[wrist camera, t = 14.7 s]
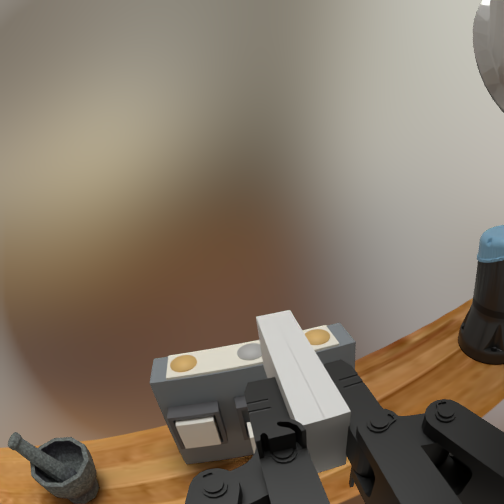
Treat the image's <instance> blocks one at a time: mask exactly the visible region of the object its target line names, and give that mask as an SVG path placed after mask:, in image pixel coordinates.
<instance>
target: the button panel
mask: <svg viewBox="0 0 504 504" xmlns="http://www.w3.org/2000/svg"><path fill="white" fill-rule="evenodd" d="M303 333H304V334H305V336H306V338H307V339H308V341H309V343H310V344H311V346H312V347H313V349H314V351H315V352H316V354H317V356H318V357H319V359H320V361H321V362H322V364H325V363H329V362H333V361H336V360H340V359H341V360H343V361H345V362H346V363H348V364H350V365H351V366H352V367H353V368H354V370H355V344H356V342H355V341H354V339H353V338H352V337H351V336H350V335H349V334H348V332H347V331H346V330H345V329H344V328H343V326H342V325H341V324H340V323H336V324H332V325H328V326H326V325H324V326H319V327H315V328H311V329H307V330H303ZM262 379H267V375H266V372H265V369H264V366H263V359H262V353H261V346H260V340H257V341H251V342H246V343H241V344H236V345H230V346H225V347H220V348H214V349H208V350H202V351H196V352H190V353H183V354H177V355H170V356H168V357H164V358H157V359H154V361H153V367H152V373H151V379H150V385H151V388H152V390H153V393H154V395H155V397H156V400H157V402H158V405H159V407H160V409H161V412H162V414H163V416H164V419H165V421H166V423H167V425H168V427H169V430H170V432H171V434H172V436H173V438H174V440H175V443H176V445H177V447H178V449H179V451H180V453H181V455H182V457H183V459H184V461H185V463H186V464H193V463H202V462H210V461H217V460H224V459H230V458H236V457H242V456H247V455H253V454H254V452H253V448H252V444H251V440H250V436H249V431H248V427H247V422H250V418H249V414H248V409H247V404H246V400H245V395H244V391H245V389H246V386H247V383H248V382H253V381H257V380H262ZM213 415H215V418H216V421H217V424H218V427H219V431H220V439H221V444H218V445H211V446H204V447H196V448H188V449H186V448H185V446H184V444H183V442H182V439H181V437H180V435H179V433H178V430H177V428H176V420H185V419H192V418H200V417H207V416H213Z"/></svg>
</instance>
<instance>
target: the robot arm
mask: <svg viewBox="0 0 504 504" xmlns="http://www.w3.org/2000/svg"><path fill="white" fill-rule="evenodd" d="M473 47H474V53H475V58H476V62H477V66H478V69H479V73H480V75H481V77H482V80H483V82H484V85H485V87H486V88H487V90H488V92H489V94H490V95H491V97H492V99H493V100H494V101H495V103H496V104H497V105H498V106H499V108H500V109H501V110H502V112H504V0H483V1H482V2H481V4H480V6H479V8H478V10H477V12H476V16H475V19H474V25H473ZM477 260H478V266H477V274H476V282H475V289H474V296H473V302H472V305H471V307H470V309H469V311H468V313H467V315H466V317H465V319H464V321H463V323H462V325H461V327H460V331H459V336H458V343H459V346H460V347H461V349H462V350H463V351H464V352H465V353H466V354H467V355H468V356H470V357H471V358H473V359H475V360H478V361H480V362H484V363H489V364H502V363H504V225H501V226H496V227H493V228H490V229H488V230H486V231H485V232H484V233H483V234H482V236H481V238H480V245H479V252H478V255H477ZM256 320H257V326H258V333H259V339H260V346H261V353H262V359H263V366H264V369H265V372H266V375H267V379H262V380H257V381H253V382H248V383H247V386H246V389H245V391H244V395H245V400H246V404H247V409H248V414H249V418H250V423H251V427H252V431H253V435H254V440H255V444H256V450H255V453H254V455H253V457H252V458H251V459H250V460H249V461H248V462H247V463H246V464H244V465H242V466H241V467H238V468H236V469H234V470H232V471H228V470H225V469H219V468H215V469H208V470H205V471H203V472H200V473H199V474H198V475H197V476H195V477H194V478H193V480H192V482H191V484H190V486H189V490H188V494H187V498H186V501H185V504H330V503H329V500H328V498H327V495H326V493H325V490H324V488H323V486H322V483H321V481H320V478H319V476H318V473H319V472H322V471H326V470H329V469H332V468H335V467H338V466H342V465H345V464H346V457H348V459H349V461H350V463H351V465H352V467H351V473H350V480H349V484H350V487H353V485H354V482H355V484H356V486H357V488H358V490H359V492H360V494H361V496H362V498H363V500H364V502H365V504H504V432H502V431H501V430H499V429H498V428H496V427H495V426H493V425H491V424H490V423H488V422H487V421H485V420H484V419H482V418H481V417H479V416H477V415H476V414H474V413H473V412H471V411H470V410H468V409H467V408H465V407H464V406H462V405H460V404H459V403H457V402H455V401H452V400H446V399H442V400H437V401H435V402H433V403H431V404H430V405H429V406H428V407H427V409H426V412H425V413H424V414H418V415H411V416H398V415H396V414H395V413H394V412H393V411H390V410H387V409H383V408H382V407H381V406H380V404H379V403H378V402H377V400H376V399H375V397H374V396H373V395H372V393H371V392H370V390H369V389H368V388H367V386H366V385H365V384H364V383H363V381H362V379H361V378H360V377H359V376H358V374H357V372H356V371H355V370H354V368H353V367H352V366H351V365H350V364H348V363H346V362H345V361H343V360H341V359H340V360H336V361H333V362H329V363H325V364H322V362H321V361H320V359H319V357H318V356H317V354H316V352H315V351H314V349H313V347H312V346H311V344H310V343H309V341H308V339H307V338H306V336H305V334H304V333H303V331H302V329H301V328H300V326H299V324H298V323H297V321H296V320H295V318H294V316H293V314H292V313H291V311H290V310H288V311H283V312H278V313H273V314H269V315H263V316H258V317H256Z"/></svg>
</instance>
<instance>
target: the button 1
mask: <svg viewBox="0 0 504 504" xmlns="http://www.w3.org/2000/svg"><path fill="white" fill-rule="evenodd" d="M176 428H177V430H178V433H179V435H180V437H181V439H182V442H183V444H184V446H185V448H186V449H188V448H196V447H204V446H211V445H218V444H221V439H220V431H219V427H218V424H217V421H216V418H215V415H213V416H207V417H200V418H192V419H185V420H176Z"/></svg>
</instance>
